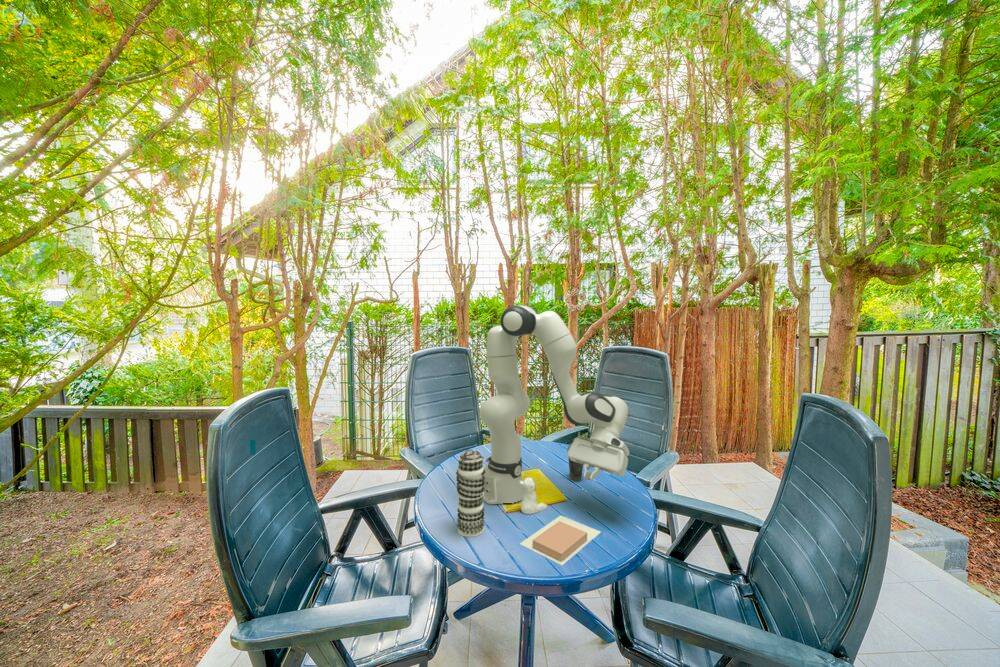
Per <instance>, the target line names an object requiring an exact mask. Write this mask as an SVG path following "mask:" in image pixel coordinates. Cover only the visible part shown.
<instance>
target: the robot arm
mask: <svg viewBox="0 0 1000 667" xmlns="http://www.w3.org/2000/svg"><path fill="white" fill-rule="evenodd" d="M499 322H500V325H495V326H493V327H491V328H490V329H489V330H488V332H487V336H486V359H487V360H486V362H487V371H488V372H487V374H488V377H489V380H490V381H492V382H493V385H494V387H495V390H496V395H493V396H491V397H489V398H488V399H486V400H485V401H484V402H482V404H481V406H480V408H479V419H480V420H481V422H482V423H483V424H484V425H485V426H486V427H487V430H488V432H489V435H490V436H489V437H490V452H491V453H490V456H489V457H487V458H486V459H485V462H486V463H487V462H488V463H487V465H486V466H485V467H483V469H484V470H485V474H484V475H483V476H484V477H485V479H484V482H485V484H484V485H483V487H484V488H485V490H484V496H483V502H485V503H487V505H498V504H500V505H504V504H503V503H512V504H515V503H514V502H516V503H519V502H522V500H523V494H524V493H525V490H524V488H522V486H521V485H520V481H523V476H522V470H523V459H522V456H521V455H522V454H521V453H522V448H521V447H522V440H521V437H520V435H519V434H518V433H517V431H516V427H515V426H516V425H515V421H516V420H518V419H519V418H521V417H523V416H524V415H525V414H526V413H527V412H528V410H529V409H530V408H531V398H530V397H529V395H528V394H527V392H526V391H525V390H524V388H523V384H522V382H521V379H520V375H519V374H520V373H519V367H518V366H519V365H518V355H517V352H518V351H517V341H518V338H521V337H525V336H527V335H533V336H535V337H536V338H537V339H538V341H539V343H540V345H541V348H542V349H543V351H544V353H545V355H546V356H545V357H547V360H548V364H549V370H550V374H551V376H552V378H553V381H554V383H555V386H556V389H557V391H558V393H559V396H560V398H561V401H562V406H563V411H564V415H565V417H566V419H567V421H568V422H570V423H571V424H572V425H574V426H583V425H586V424H588V423H592V424H594V428H593V430H592V433H591V434H590V437H587V436H583V435H580V436H579V437H578V436H577V437H575V438H574V439H573V441H572V442H573V444H572V445H571V447H570V449H569V450H568V449H567V450H568V452H567V451H566V452H567V453H566V456H567V457H568V460H569V459H570V460H571V461H574V462H577V463H580V464H583V468H584V469H583V470H584V474H583V478H584V480H585V479H586V480H588V481H591V482H593V481H594V480H595V477H597V476H599V474H600V473H601V471H603V472H606V473H609V474H613V475H616V476H619V477H622V476H624V475H625V474H626V472H627V468H628V463H629V458H628V457H629V455H630V450H629V448H628V446H627V445H626V443H625V442H623V441H622V440H620V436H621V432H622V431H623V429H624V427H625V425H626V422H627V418H628V414H629V407H628V406H629V405H627V403H626V401H625V400H623V399H621V398H620V397H617V396H614V395H613V396H606V395H604V394H602V393H600V392H597V391H596V392H595V391H594V392H589V393H586V394H583V395H580V394H579V393H578V391H577V389H576V387H575V383H574V382H573V378H572V377H571V366H572V363H574V360H575V359H576V357H577V353H578V347H577V343H576V341H575V339H574V337H573V334H572V333H571V331H570V330H569V328H568V326H567V325H566V323H565V321H564V320H563V319H562V318H561V316H560V315H559V314H558V313H557V312H555V311H554V310H546V311H543V312H541V313H538V312H537V310H536V309H534V308H533V307H531V306H529V305H525V304H517V305H512V306H509V307H507V308H506V309H505V310H503V312H502V313H501V316H500V321H499ZM592 468H593V469H594V470H593V471H592V473H590V471H589V470H591V469H592ZM518 501H519V502H518Z"/></svg>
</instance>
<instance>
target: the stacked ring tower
mask: <svg viewBox="0 0 1000 667" xmlns="http://www.w3.org/2000/svg"><path fill="white" fill-rule="evenodd" d="M484 458H485V456H484V455H483V454H481V453H480V451H478V450H474V449H472V450H471V449H470V450H465V451H463V452H462V453H461V454H460V455H458V457H457V459H458V467H457V469H456V472H455V474H456V482H457V483H456V492H457V493H456V494H457V497H458V507H457V517H458V518H457V532H458V534H459V535H460V536H463V537H466V538H474V537H478V536H480V535H482V534H483V533H484V532H485V517H484V516H485V507H484V501H483V496H484V490H485V488H484V487H483V485H484V484H485V482H484V479H485V477H484V476H483V475H484V474H485V470H484V465H483V463H484V461H483V459H484Z"/></svg>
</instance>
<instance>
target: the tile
mask: <svg viewBox="0 0 1000 667" xmlns="http://www.w3.org/2000/svg"><path fill="white" fill-rule="evenodd" d="M586 540H587V532H584V531H582V530H579V529H577V528H575V527H572V526H570V525H567V524H565V523H563V522H560V521H559V522H557V523H556V524H554V525H553V526H552V527H550V528H549V529H547V530H546V531H545V532H543V533H542V534H540V535H539V536H538V537H536V538H535V539H533V547H534V548H536V549H538V550H540V551H542V552H544V553H546V554H548V555H550V556H552V557H554V558H556V559H558V560H560V561H562V560H563V559H564V558H566V557H567V556H568V555H569V554H570V553H571V552H573V551H574V550H575V549H576V548H577V547H579V546H580V545H581V544H582V543H583V542H584V541H586Z"/></svg>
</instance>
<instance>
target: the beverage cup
mask: <svg viewBox="0 0 1000 667" xmlns="http://www.w3.org/2000/svg"><path fill="white" fill-rule="evenodd" d="M579 436H581V432H580V431H578V436H577V437H579ZM573 442H574V441H572V442H571V443H570V444H569V445H568V447H567V450H566V452H568V450H569V449H570V447H571V445H572V444H573ZM568 467H569V470H568V471H569V477H570V478H569V479H570V480H571V481H572V480H573V482H576V481H577V482H581V481H582V477H583V470H584V469H583V468H584V464H580V463H577V462H574V461H571V460H570V459H569V458H568ZM580 480H581V481H580Z"/></svg>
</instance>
